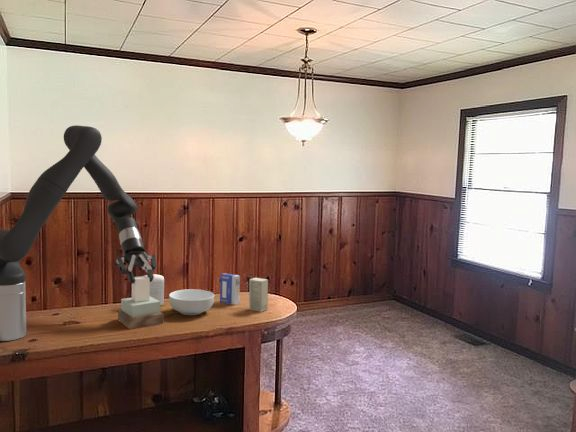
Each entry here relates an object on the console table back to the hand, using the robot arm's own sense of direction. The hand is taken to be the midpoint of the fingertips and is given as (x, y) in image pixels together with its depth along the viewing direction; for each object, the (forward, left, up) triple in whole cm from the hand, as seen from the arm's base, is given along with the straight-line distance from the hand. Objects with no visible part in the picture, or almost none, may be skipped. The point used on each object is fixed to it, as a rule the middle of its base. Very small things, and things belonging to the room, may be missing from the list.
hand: (142, 281), depth 170 cm
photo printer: (+10, +19, -15) cm, 26 cm away
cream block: (0, +2, -7) cm, 7 cm away
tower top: (0, +2, -11) cm, 11 cm away
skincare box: (+44, -6, -15) cm, 47 cm away
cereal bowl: (+20, +3, -15) cm, 25 cm away
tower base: (0, +1, -15) cm, 15 cm away
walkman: (+39, +8, -15) cm, 42 cm away
